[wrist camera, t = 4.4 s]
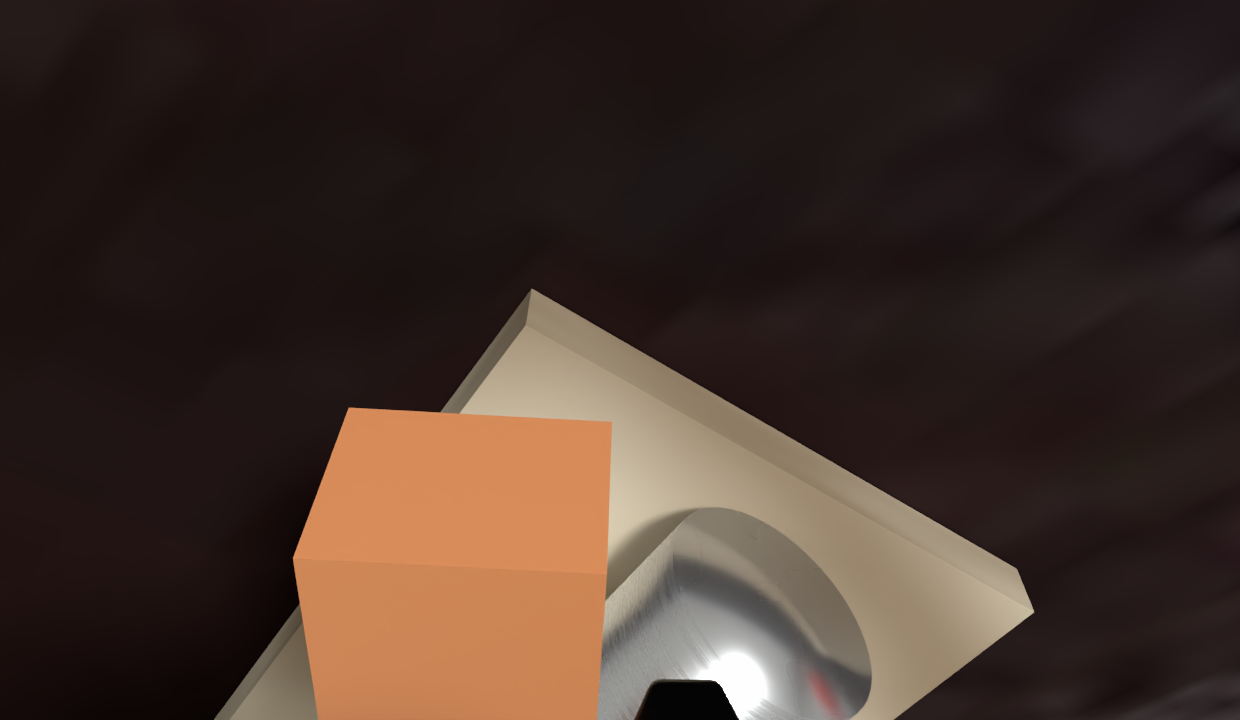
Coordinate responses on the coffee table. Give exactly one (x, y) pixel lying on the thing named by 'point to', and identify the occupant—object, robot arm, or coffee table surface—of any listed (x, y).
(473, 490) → the valve lever
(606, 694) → the valve
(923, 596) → the valve board
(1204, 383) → the coffee table surface
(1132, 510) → the coffee table surface
